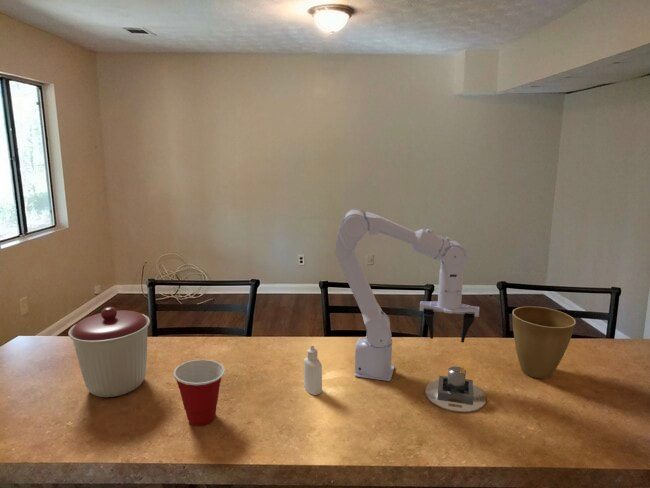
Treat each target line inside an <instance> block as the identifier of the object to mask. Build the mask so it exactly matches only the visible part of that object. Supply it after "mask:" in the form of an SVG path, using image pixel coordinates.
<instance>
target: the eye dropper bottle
mask: <svg viewBox="0 0 650 488" xmlns="http://www.w3.org/2000/svg"><path fill="white" fill-rule="evenodd" d="M322 368H323V367H322V363H321V361H320V359H319V358H318V349H317V348H315V345H314V344H311V345H310V347H309V348H308V349H307V357H305V358H304V359H303V388H304V389H305V391H306V392H307V393H309V394H310V395H313V396H316V395H317V396H318V395H320V394H322V393H323V369H322Z"/></svg>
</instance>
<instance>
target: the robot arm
mask: <svg viewBox="0 0 650 488" xmlns="http://www.w3.org/2000/svg"><path fill="white" fill-rule="evenodd" d="M339 224H340V225H339V227H338V229H337V234H336V235H337V236H336V241H335V244H334V254H335V256H336V259H337V261H338V264H339V265H340V268H341V270H342V272H343V274H344V277H345V279H346V281H347V283H348V285H349V288H350V290H351V293H352V295H353V297H354V299H355V301H356V303H357V306H358V309H359V310H360V312H361V313H360V314H361V315H362V320H363V322H364V323H363V324H364V325H365V328H366V336H365V337H364V338H358V339H357V341H356V345H355V356H354V357H355V358H354V359H355V360H354V361H355V362H354V365H355V366H354V376H355V377H358V378H366V379H372V380H377V381H378V380H379V381H387V382H391V380H392V377H393V373H394V369H395V365H394V364H393V365H392V357H393V354H392V353H393V339H392V338H393V337H392V331H391V320H390V317H389V316H388V315H387V314H386V313H385V312H384V311H383V309H382V308H381V306H380V304H379V302H378V301H377V299H376V297H375V294H374V292H373V290H372V288H371V286H370V283H369V280H368V278H367V276H366V274H365V272H364V270H363V267H362V265H361V262H360V261H359V258H358V255H357V253H356V248H357V245H358V243H359V242H360V240H362V238H364V237H365V235H366V234H367V232H368V236H375V235H377V234H383V235H386V236H388V237H391V238H394V239H397V240H400V241H402V242H406V243H408V244H410V245H411V249H412V251H414V252H416V253H420V254H422V255H424V256H426V257H429V258H431V259H433V260H439V261H440V267H439V268H440V269H439V276H438V293H437V300H435V301H434V300H433V301H425V300H424V301H419V302H420V303H419V312H423V318H424V319H425V322H426V324H427V327H428V332H429V338H430V339H432V340H433V339H434V334H435V332H434V331H435V327H434V323H435V322H434V320H435V312H437V313H438V312H439V313H445V314H456V315H457V314H458V315H463V319H462V320H463V321H462V328H461V340H460V343H463V344H464V343H465V339H466V336H467V334H468V331H469V329H470V328H471V326H472V324H473V323H474V320H475V317H476V318H477V317H478V318H479V317H480V306H473V305H469V304H464V303H462V296H463V282H464V281H463V280H464V265H465V264H466V262H467V260H468V256H467V252H466V250H465V248H464V247H463V246H462V245H461V244H460V243H459V242H457V241H456V240H455V239H452V238H450V237H448V236H446V237H443V236H441V235H438V234H436V233H433V230H432V229H430V228H427V229H423V228H421V229H418V230H413V229H410V228H408V227H406V226H404V225H401V224H399V223H396V222H394V221H392V220H390V219H387V218H386V217H383V216H381V215H378V214H376V213H374V212H370V211H363V210H362V209H360V208H351V209H349V210H348V211H347V212H346V213H345V215H344V216H343V218H342V220H341V221H340V223H339Z"/></svg>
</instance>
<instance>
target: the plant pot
mask: <svg viewBox="0 0 650 488" xmlns="http://www.w3.org/2000/svg"><path fill="white" fill-rule="evenodd" d="M511 314H512V331H513V339H514V345H515V350H516V355H517V359H518V363H519V366H520V370H521V371H522V372H523V374H525V375H526V376H529V377H531V378H534V379H541V380H543V379H549V378H551V377H552V376H553V374H554V373H555V372H556V370H557V368H558V366H559V364H560V363H561V361H562V360H563V356H564V355H565V353H566V351H567V349H568V346H569V344H570V341H571V340H572V339H571V338H572V337H573V336H572V335H573V333H574V330H575V327H576V324H577V323H576V319H575V318H574V317H572V316H571V315H569V314H568V313H565V312H564V311H563V312H562V311H561V310H560V311H559V310H558V309H553V308H550V307H549V308H548V307H543V306H519V307H516V308H514V309H513V310H512V313H511Z"/></svg>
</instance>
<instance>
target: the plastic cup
mask: <svg viewBox="0 0 650 488" xmlns="http://www.w3.org/2000/svg"><path fill="white" fill-rule="evenodd" d="M225 372H226V369H225V366H224V365H223V364H222V363H220V362H218V361H216V360H212V359H192V360H189V361H185V362H183V363H180V364H179V365H178V366H176V367H175V369H174V370H173V377H174V379H175V381H176V383H177V385H178V389H179V391H180V396H181V400H182V404H183V408H184V410H185V414H186V417H187V421H188V423H189V424H190V425H192V426H198V427H200V426H201V427H202V426H205V425H206V426H207V425H208V424H210V423H212V422H213V421H214V420H215V417H216V415H217V405H218V401H219V394H220V386H221V383H222V378H223V377H224V374H225Z"/></svg>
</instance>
